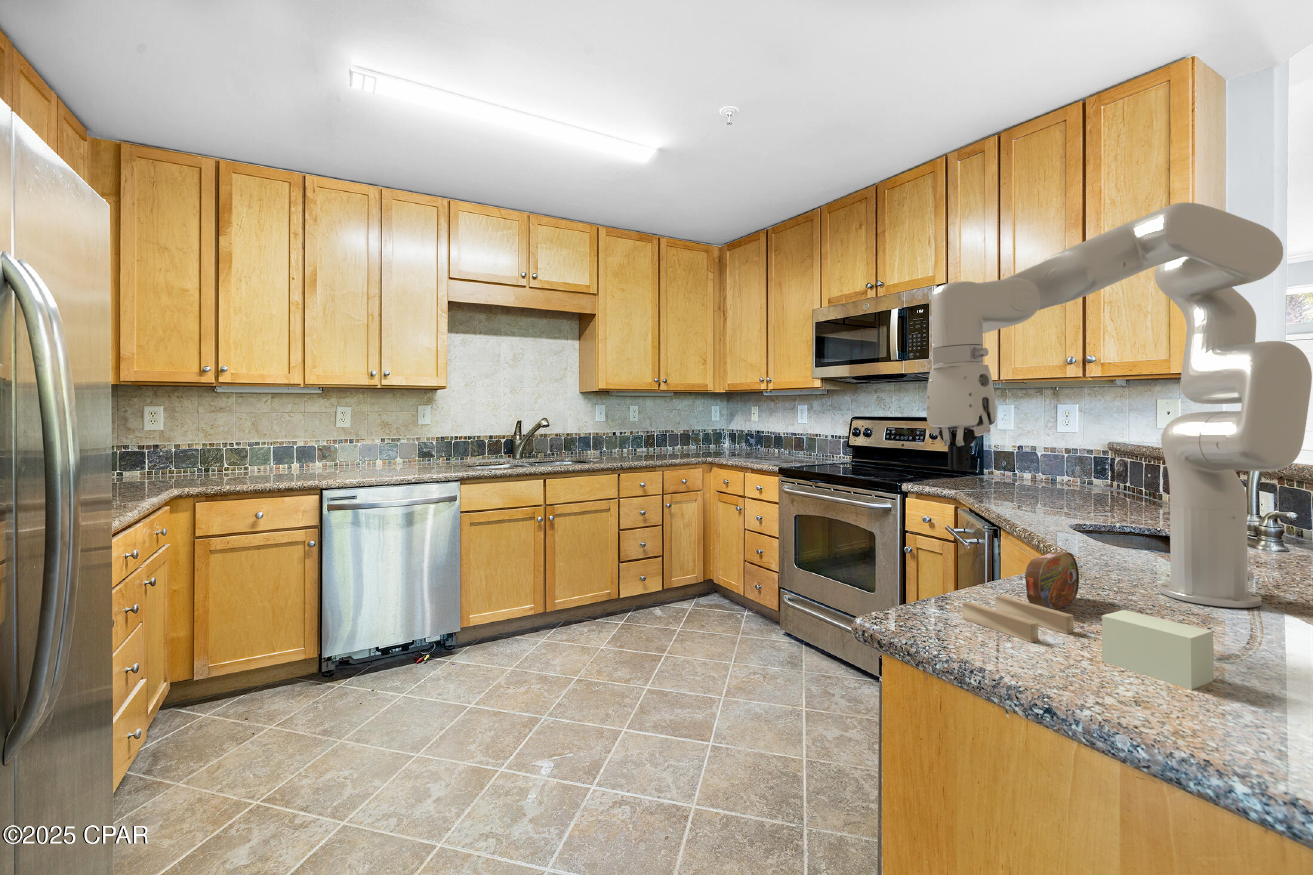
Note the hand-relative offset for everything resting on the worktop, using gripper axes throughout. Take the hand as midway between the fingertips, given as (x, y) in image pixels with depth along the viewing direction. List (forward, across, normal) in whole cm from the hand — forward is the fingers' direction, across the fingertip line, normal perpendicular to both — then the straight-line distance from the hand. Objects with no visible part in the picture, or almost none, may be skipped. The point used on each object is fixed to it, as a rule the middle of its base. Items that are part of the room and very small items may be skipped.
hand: (959, 469), depth 96 cm
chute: (+23, -10, 0) cm, 25 cm away
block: (+23, -28, 0) cm, 36 cm away
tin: (+23, -5, -15) cm, 28 cm away
